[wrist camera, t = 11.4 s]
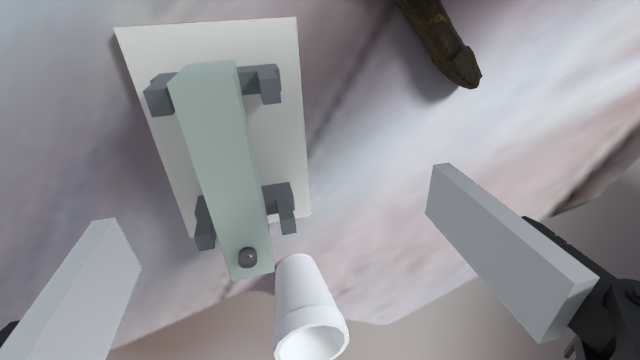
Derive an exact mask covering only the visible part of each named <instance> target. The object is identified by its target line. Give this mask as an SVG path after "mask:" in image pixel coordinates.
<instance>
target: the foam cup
mask: <svg viewBox="0 0 640 360" xmlns="http://www.w3.org/2000/svg"><path fill="white" fill-rule="evenodd" d="M272 341H273V351H274V356H275V359H276V360H333V359H335V358H336V357H337V356H338V355H340V354H341V353H342V352H343V351H344V349H345V348H346V346H347V344H348V343H349V332H348V329H347V326H346V323H345V320H344V317H343V315H342V314H341V313H340V312H339V310H338V308H337V306H336V304H335V302H334V300H333V298H332V296H331V294H330V292H329V290H328V288H327V286H326V284H325V282H324V280H323V278H322V276H321V274H320V272H319V270H318V268H317V265H316V263H315V262H314V260H313V259H312V258H311V257H310V256H308V255H305V254H292V255H290V256H287V257H285V258H284V259H282V260H281V261H280V262H279V263H278V265H277V268H276V275H275V307H274V331H273V334H272Z"/></svg>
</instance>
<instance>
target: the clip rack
mask: <svg viewBox="0 0 640 360" xmlns="http://www.w3.org/2000/svg"><path fill="white" fill-rule="evenodd" d="M113 29H114V31H115V34H116V37H117V39H118V42H119V45H120V48H121V50H122V53H123V56H124V59H125V61H126V64H127V67H128V70H129V72H130V75H131V78H132V81H133V83H134V86H135V89H136V92H137V94H138V97H139V100H140V103H141V105H142V108H143V111H144V114H145V116H146V119H147V122H148V124H149V127H150V130H151V133H152V135H153V138H154V141H155V144H156V146H157V149H158V152H159V155H160V157H161V160H162V163H163V166H164V168H165V171H166V174H167V177H168V179H169V182H170V185H171V188H172V190H173V193H174V196H175V198H176V201H177V204H178V207H179V209H180V212H181V215H182V218H183V220H184V223H185V226H186V229H187V231H188V234H189V237H190V238H195V241H196V243H197V246H198V249H199V251H203V250H208V249H214V248H215V240H216V231H215V228H214V225H213V222H212V219H211V216H210V213H209V210H208V207H207V204H206V201H205V198H204V195H203V192H202V189H201V186H200V183H199V180H198V177H197V174H196V171H195V168H194V165H193V162H192V159H191V156H190V153H189V150H188V147H187V144H186V141H185V138H184V135H183V132H182V129H181V126H180V123H179V120H178V117H177V114H176V111H175V108H174V105H173V102H172V99H171V96H170V93H169V90H168V87H167V83H168V82H169V81H170V80H171V79H172V78H173V77H174V76H175V75H176V74H177V73H178V72H179V71H180V70H181V69H182V68H183V67H184V66H185V65H187V64H194V63H203V62H212V61H222V60H231V59H235V62H236V67H237V72H238V77H239V81H240V86H241V91H242V96H243V101H244V106H245V111H246V115H247V120H248V125H249V130H250V135H251V140H252V145H253V149H254V154H255V159H256V164H257V169H258V174H259V179H260V183H261V188H262V193H263V198H264V203H265V208H266V213H267V217H268V223H269V224H271V223H276V222H280V224H281V229H282V235H287V234H292V233H296V224H295V219H298V218H303V217H309V216H312V214H311V201H310V188H309V176H308V163H307V150H306V137H305V124H304V111H303V99H302V86H301V73H300V60H299V47H298V35H297V22H296V17H280V18H264V19H247V20H230V21H213V22H196V23H179V24H163V25H146V26H129V27H116V28H113Z"/></svg>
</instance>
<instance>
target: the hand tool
mask: <svg viewBox="0 0 640 360" xmlns="http://www.w3.org/2000/svg"><path fill="white" fill-rule="evenodd" d="M395 3H396V4H397V5H398V6H399V7H400V8H401V10H402V11H403V12H404V14H405V16H406V19H407V20H408V21H409V22H410V24H411V25H412V27H413V28H414V30H415V31H416V33H417V34H418V36H419V37H420V39H421V40H422V42H423V43H424V45H425V46H426V48H427V49H428V51H429V53H430V54H431V56H432V61H433V62H434V64H435V65H436V66H437V67H438V69H439V70H440V71H441V72H442V73H443V74H445V75H446V76H447V77H448V78H449V79H451V80H452V81H453V82H455V83H456V84H457V85H459V86H461V87H464V88H467V89H475V88H477V87H478V85H479V81H480V79H481V77H482V74H481V71H480V69H479V66H478V64H477V62H476V58H475V55H474V53H473V51H472V50H471V48H470V47H469V46H465V45H464V44H463V42H462V40H461V38H460V37H459V35H458V34H457V32H456V30H455V29H454V27H453V25H452V23H451V20H450V18H449V17H448V15H447V13H446V11H445V9H444V7H443V5H442V3H441V1H440V0H395Z"/></svg>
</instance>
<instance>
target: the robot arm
mask: <svg viewBox="0 0 640 360" xmlns="http://www.w3.org/2000/svg"><path fill="white" fill-rule="evenodd" d="M425 214H426V215H427V217H428V218H429V219H430V220H431V221H432V222H433V224H434V225H435V226H436V227H437V228H438V229H439V230H440V232H441V233H442V234H443V235H444V236H445V237H446V238H447V240H448V241H449V242H450V243H451V244H452V245H453V247H454V248H455V249H456V250H457V251H458V252H459V253H460V255H461V256H462V257H463V258H464V259H465V260H466V261H467V263H468V264H469V265H470V266H471V267H472V268H473V269H474V271H475V272H476V273H477V274H478V275H479V276H480V277H481V279H482V280H483V281H484V282H485V283H486V284H487V285H488V287H489V288H490V289H491V290H492V291H493V292H494V294H495V295H496V296H497V297H498V298H499V299H500V301H501V302H502V303H503V304H504V305H505V306H506V307H507V309H508V310H509V311H510V312H511V313H512V314H513V315H514V317H515V318H516V319H517V320H518V321H519V322H520V323H521V325H522V326H523V327H524V328H525V329H526V330H527V332H528V333H529V334H530V335H531V336H532V337H533V338H534V340H535V341H536V342H537V343H538V344H541V343H544V342H548V341H551V340H554V339H558V338H560V337H561V335H562V334H563V332H564V331H565V329H566V328H567V326H569V328H571V329H572V330H573V331H574V332H575V333H576V336H575V337H574V338H573V340H572V341H571V343H570V344H569V345H568V347H567V348H566V350H565V351H564V358H567V359H568V358H569V357H570V356H571V355H572V353H573V352H574V351H575V353H576V359H575V360H640V281H637V280H632V279H617V278H616V277H614V276H613V275H611V274H610V273H608V272H607V271H606V270H604V269H603V268H602V267H600V266H599V265H598V264H596V263H595V262H593V261H592V260H591V259H589V258H588V257H587V256H585V255H584V254H582V253H581V252H580V251H578V250H577V249H576V248H574V247H573V246H571V245H570V244H567V242H566V241H565V240H563V239H562V238H560V237H559V236H556V235H555V233H554V232H552V231H551V230H549V229H548V228H547V227H545V226H544V225H543V224H541V223H539V222H537V221H535V220H532V219H530V218H528V217H526V216H523V217H520V216H518V215H517V214H516V213H515V212H513V211H512V210H511V209H509V208H508V207H507V206H505V205H504V204H503V203H501V202H500V201H499V200H497V199H496V198H495V197H494V196H492V195H491V194H490V193H488V192H487V191H486V190H484V189H483V188H482V187H480V186H479V185H478V184H476V183H475V182H474V181H473V180H471V179H470V178H469V177H467V176H466V175H465V174H463V173H462V172H461V171H459V170H458V169H457V168H455V167H454V166H453V165H451V164H450V163H443V164H437V165H433V170H432V176H431V182H430V188H429V194H428V200H427V206H426V211H425ZM141 269H142V267H141V265H140V263H139V261H138V260H137V258H136V256H135V254H134V252H133V250H132V248H131V247H130V245H129V243H128V241H127V239H126V237H125V235H124V234H123V232H122V230H121V228H120V226H119V224H118V222H117V221H116V219H115V217H113V218H106V219H100V220H94V221H92V222H91V223H90V225H89V226H88V227H87V229H86V230H85V232H84V233H83V234H82V236H81V237H80V239H79V240H78V241H77V243H76V244H75V245H74V247H73V248H72V250H71V251H70V252H69V254H68V255H67V257H66V258H65V259H64V261H63V262H62V264H61V265H60V266H59V268H58V269H57V270H56V272H55V273H54V275H53V276H52V277H51V279H50V280H49V282H48V283H47V284H46V286H45V287H44V288H43V290H42V291H41V293H40V294H39V295H38V297H37V298H36V300H35V301H34V302H33V304H32V305H31V307H30V308H29V309H28V311H27V312H26V313H25V315H24V316H23V318H22V319H21V320H19V321H14V322H10V323H9V324H8V325H7V326H6V327H4V328H3V329H2V330H1V331H0V360H106V357H107V355H108V352H109V350H110V347H111V345H112V342H113V340H114V337H115V335H116V332H117V330H118V327H119V325H120V322H121V320H122V317H123V315H124V312H125V310H126V307H127V304H128V302H129V299H130V297H131V294H132V292H133V289H134V287H135V284H136V282H137V279H138V277H139V274H140V272H141Z"/></svg>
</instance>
